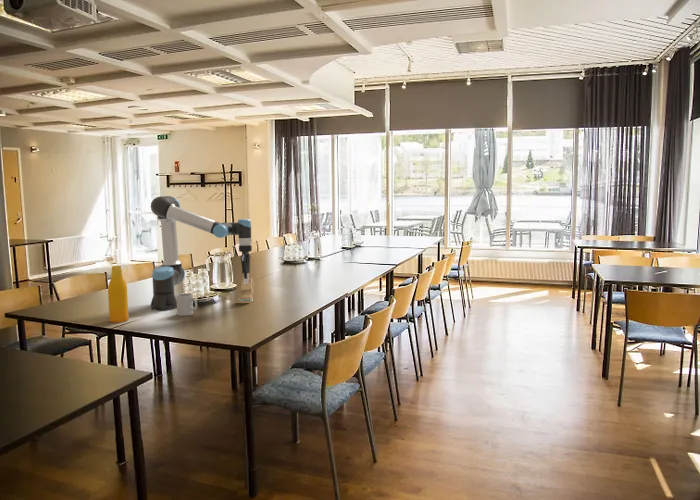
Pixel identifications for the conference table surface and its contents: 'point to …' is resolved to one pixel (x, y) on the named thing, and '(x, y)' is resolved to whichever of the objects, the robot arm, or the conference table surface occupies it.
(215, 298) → the conference table surface
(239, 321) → the conference table surface
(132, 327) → the conference table surface
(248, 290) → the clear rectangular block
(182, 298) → the mug
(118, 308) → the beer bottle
